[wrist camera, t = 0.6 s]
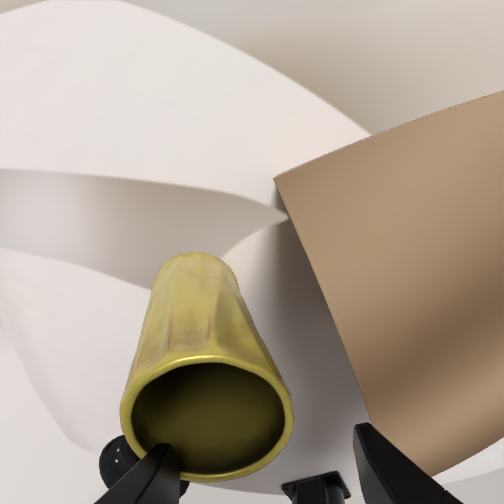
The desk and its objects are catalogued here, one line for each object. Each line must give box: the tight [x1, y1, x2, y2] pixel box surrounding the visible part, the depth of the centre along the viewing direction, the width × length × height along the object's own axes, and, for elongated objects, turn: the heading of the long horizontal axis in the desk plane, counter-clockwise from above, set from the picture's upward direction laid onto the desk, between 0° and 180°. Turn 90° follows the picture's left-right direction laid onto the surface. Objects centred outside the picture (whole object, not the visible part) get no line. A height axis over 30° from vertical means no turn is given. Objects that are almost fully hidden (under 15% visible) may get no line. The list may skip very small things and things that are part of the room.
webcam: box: [99, 435, 190, 498], centre depth 22 cm, size 8×8×10 cm
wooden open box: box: [273, 91, 504, 477], centre depth 13 cm, size 11×17×15 cm, turn 115°
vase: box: [120, 252, 294, 482], centre depth 15 cm, size 6×6×14 cm
